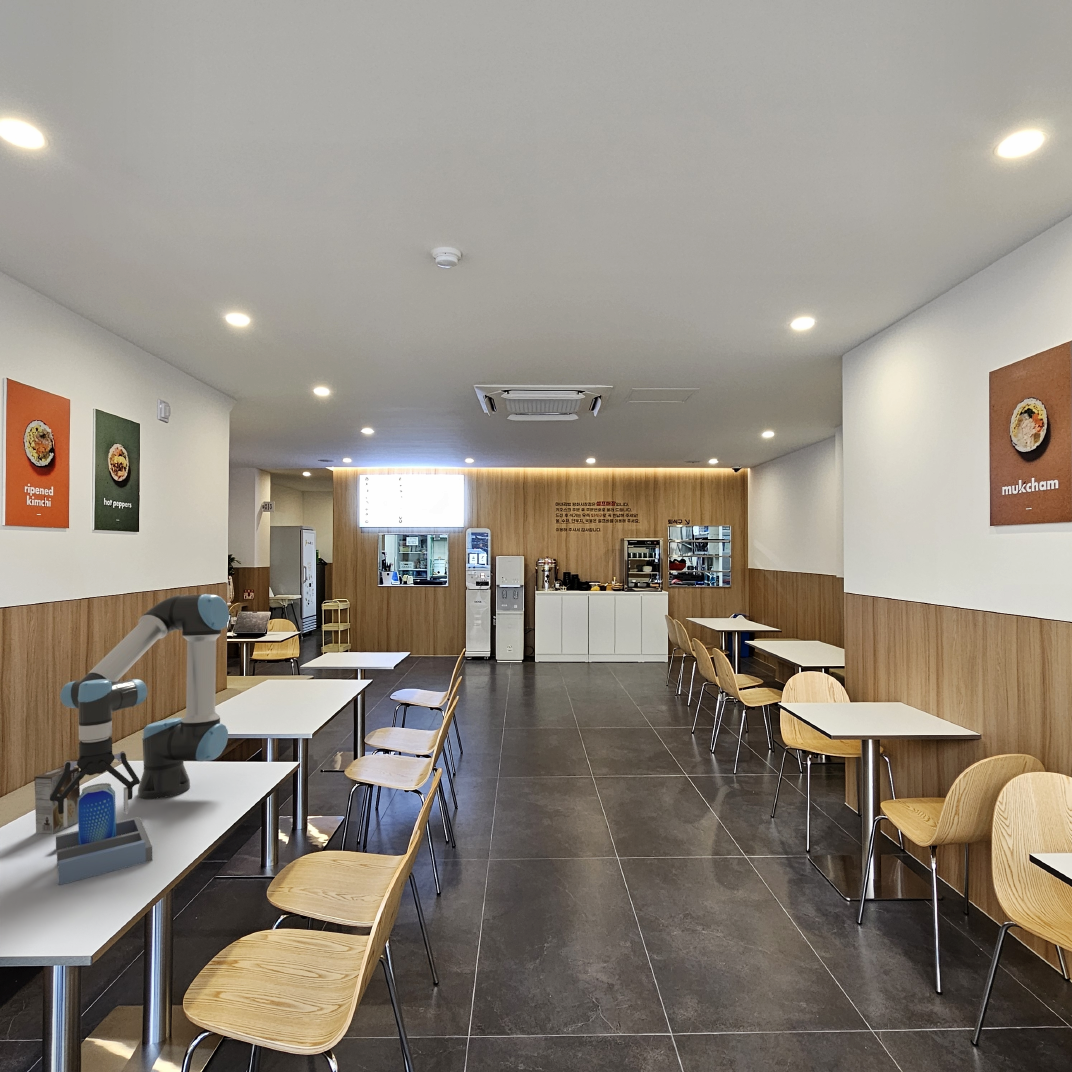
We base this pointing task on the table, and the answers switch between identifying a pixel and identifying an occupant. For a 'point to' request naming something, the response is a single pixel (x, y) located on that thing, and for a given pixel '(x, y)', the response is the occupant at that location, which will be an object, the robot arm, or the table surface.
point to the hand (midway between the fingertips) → (96, 818)
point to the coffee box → (48, 810)
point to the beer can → (96, 813)
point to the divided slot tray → (102, 852)
